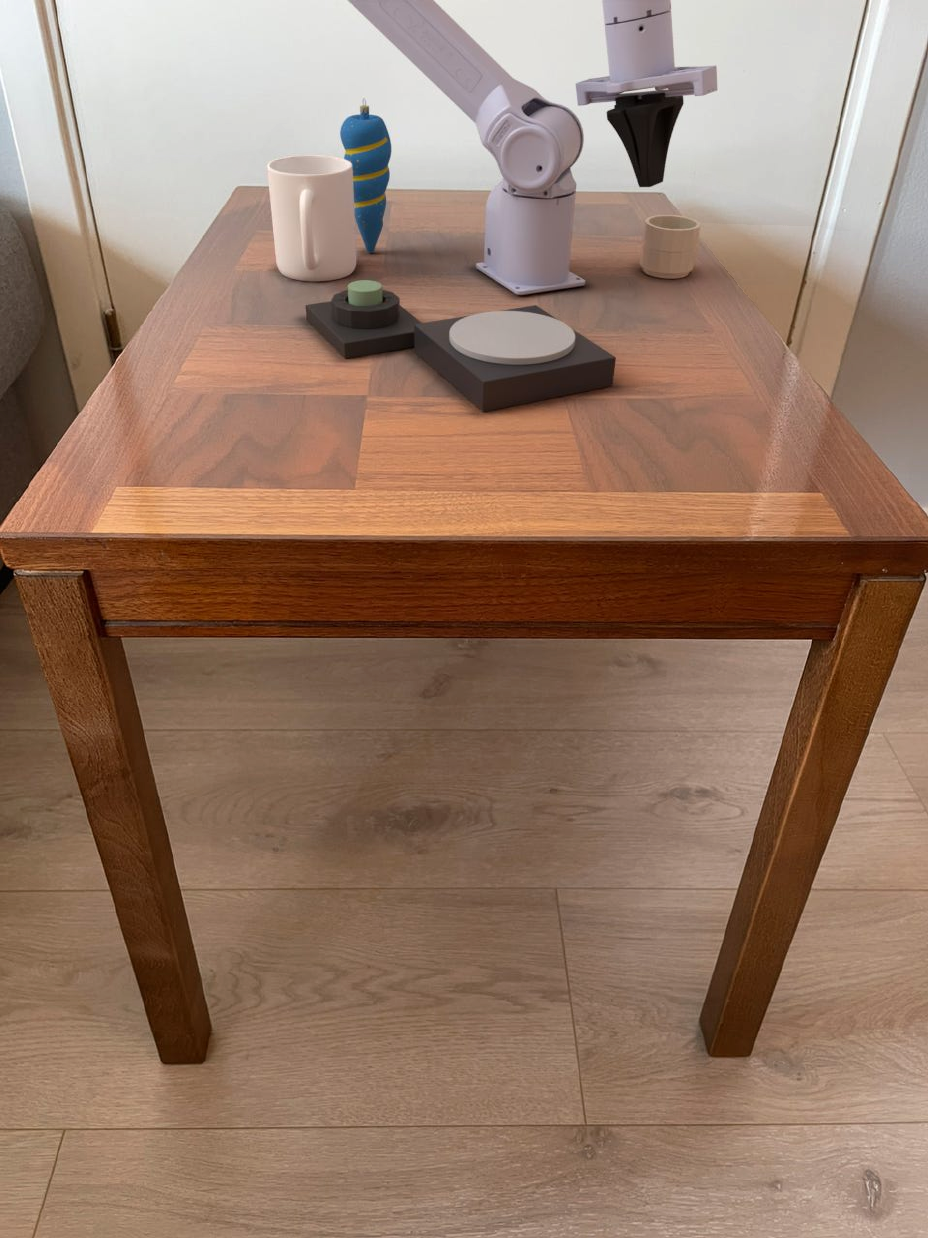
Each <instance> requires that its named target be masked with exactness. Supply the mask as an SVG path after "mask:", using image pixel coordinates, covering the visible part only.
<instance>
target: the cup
mask: <svg viewBox="0 0 928 1238" xmlns="http://www.w3.org/2000/svg"><path fill="white" fill-rule="evenodd" d="M266 169H267V181H268V191H269V201H270V210H271V211H270V213H271V222H272V231H273V244H274V253H275V262H276V263H275V264H276V267H277V269H278V271H279V272H280V273H281V274H282V275H283V276H284V277H286V278H288V279H292V280H295V281H301V282H302V281H303V282H328V281H329V282H330V281H335V280H340V279H342V278H345V277H348V276H350V275H351V274H352V273H354V271H355V269H356V267H357V238H356V235H357V234H356V219H355V211H354V210H355V203H354V189H353V167H352V163H351V162H350V161H348V160H345V159H344V158H342V157H338V156H332V155H323V154H322V155H321V154H320V155H319V154H301V155H291V156H290V155H289V156H284V157H280V158H275V159H273V160H271V161H269V162H268V163H267V165H266Z"/></svg>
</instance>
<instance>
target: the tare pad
mask: <svg viewBox="0 0 928 1238" xmlns="http://www.w3.org/2000/svg"><path fill="white" fill-rule="evenodd" d="M400 302H401V300H400V296H398V295H397V294H396V293H394V292H393V291H390V290H386V289H382V303H381V304H379V305H374V306H355V305H351V304H349V301H348V289H344V290H342V291H339V292H338V293H335V294H333V296H332V298H331V300H330V301H323V302H317V303H309V304H305V314H306V315H305V318H306V321H308V323H309V324H311V325H312V327H313V328H314V329H315V330H316V331H317V332H318V333H319V334H320V335H321V336H322V337H323V338H324V339H325V340H326V341H327V342H328V343H329V344H330V345H331V346H332V347H333V348H334V349H335V350H336V351H337V352H338V353H339V354H340V355H341V356H342V357H343V358H344V359H350V358H356V357H362V356H363V357H364V356H368V355H375V354H380V353H387V352H393V351H398V350H405V349H411V348H414V324H420V323H422V322H421V321H420V320H419V319H418V318H417V317H416V316H414V315H413V314H411V313H410V312H409V311H408V310H406V309H405V308H404V307H403V306H402V305H401V303H400Z"/></svg>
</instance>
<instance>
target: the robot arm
mask: <svg viewBox="0 0 928 1238" xmlns="http://www.w3.org/2000/svg"><path fill="white" fill-rule="evenodd" d="M347 1H348V2H349V4H351V5H352V6H353V7H354V8H355V9H356V10H357V11H358V12H359V13H361V15H362V16H363V17H364V18H365V19H366V20H367V21H368V22H370V24H371V25H372V26H373V27H374V28H375V29H377V30H378V31H379V33H381V34H382V35H383V36H384V37H385V38H386V39H387V40H388V41H389V42H390V43H391V44H392V45H393V46H394V47H395V48H397V50H399V51H400V52H401V54H402V55H404V56H405V57H406V58H407V59H408V60H409V62H411V63H412V64H413V65H414V66H415V67H416V68H417V69H418V70H419V71H420V72H421V73H422V74H423V75H424V76H425V77H426V78H428V80H430V81H431V82H432V84H434V85H435V87H437V88H438V89H439V90H440V91H441V92H442V93H443V94H444V96H446V97H447V98H449V100H450V101H451V102H453V103H454V105H456V106H457V107H458V109H460V110H461V111H462V112H463V113H464V114H465V115H466V116H467V117H468V118H469V119H470V120H471V121H472V122H473V123H474V124H475V126H476V130H477V133H478V136H479V139H480V143H481V145H482V146H483V147H484V149H486V150H487V151H488V152H489V153H490V154H491V156H492V157H493V159H494V160H495V162H496V164H497V166H498V169H499V172H500V174H501V176H502V179H501V181H500V182H498V183H497V184H495V186H494V187H493V188H492V190H491V191H490V193H489V195H488V197H487V199H486V205H485V212H484V213H485V215H484V216H485V218H484V242H483V244H484V247H483V248H484V251H483V262H477V263H476V264H475V268H476V270H479V271H480V272H481V273H483V274H485V275H486V276H487V277H489V278H490V279H492V280H494V281H495V282H497V283H498V284H500V285H501V286H503V287H504V288H506V289H508V290H509V291H510V292H512V293H513V294H515V295H517V296H524V295H531V294H537V293H544V292H551V291H556V290H563V289H569V288H577V287H583V286H586V280H585V279H584V278H582V277H581V276H579V275H577V274H576V273H574V272H572V271H570V264H571V254H572V243H573V242H572V240H573V232H574V231H573V229H574V219H575V218H574V217H575V206H576V195H577V182H576V179H574V176H573V172H572V170H571V168H572V167H573V166H574V165H575V164H576V162H577V161H578V160H579V158H580V156H581V154H582V151H583V148H584V141H585V135H584V128H583V127H582V123H581V121H580V119H579V118H578V116H577V115H576V113H575V112H573V110H571V109H570V108H569V107H567V106H565V105H563V104H559V103H556V102H552V101H550V100H548V99H546V98H544V97H543V96H542V95H541V94H540V93H539V92H538V90H536V89H535V88H533V87H531V86H529V85H527V84H525V83H523V82H521V81H519V80H517V79H515V78H514V77H513V76H511V75H510V73H509V72H507V70H506V69H505V68H503V67H502V66H501V64H499V63H498V62H497V61H496V60H495V59H494V58H493V56H491V55H490V54H489V53H488V52H487V51H486V50H485V49H484V48H483V47H482V46H481V45H480V44H479V43H478V42H477V41H476V39H474V38H473V37H472V36H471V35H470V34H469V33H468V32H467V31H466V30H465V29H464V28H463V27H462V26H460V25H459V23H457V22H456V20H455V19H453V17H451V16H450V14H448V13H447V12H446V11H445V10H444V9H443V8H442V7H441V6H440V5H439V4H438V3H437V2H436V1H435V0H347ZM601 2H602V3H601V4H602V12H603V13H602V14H603V22H604V34H605V35H604V36H605V43H606V55H607V64H608V75H607V76H599V77H593V78H588V79H584V80H581V81H578V82H576V83H575V91H576V101H577V106H588V105H590V104H597V103H599V104H600V103H611V102H614V103H615V104H614V105H613V108H612V109H608V110H607V111H606V119H607V121H608V122H609V124H610V125H611V126H612V128H613V130H614V131H615V132H616V134H617V135H618V137H619V139H620V141H621V143H622V145H623V147H624V149H625V151H626V153H627V156H628V159H629V161H630V164H631V167H632V170H633V173H634V176H635V178H636V179H635V180H636V181H637V185H638V187H639V188H652V187H654V186H656V185H658V184H661V183H663V182H664V176H665V171H666V163H667V158H668V153H669V152H668V151H669V147H670V143H671V139H672V135H673V131H674V129H675V125H676V123H677V120H678V118H679V115H680V112H681V111H682V108H683V107H684V105H685V103H684V101H685V100H684V97H685V96H695V97H700V96H701V97H703V96H707V95H709V94H712V93H715V92H717V91H718V69H717V65H715V64H714V65H704V66H676V65H675V52H674V51H675V50H674V49H675V48H674V36H673V34H674V33H673V19H672V18H673V17H672V1H671V0H601ZM653 88H654V90H648V89H653ZM646 89H647V90H646ZM640 90H646V91H640Z"/></svg>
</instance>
